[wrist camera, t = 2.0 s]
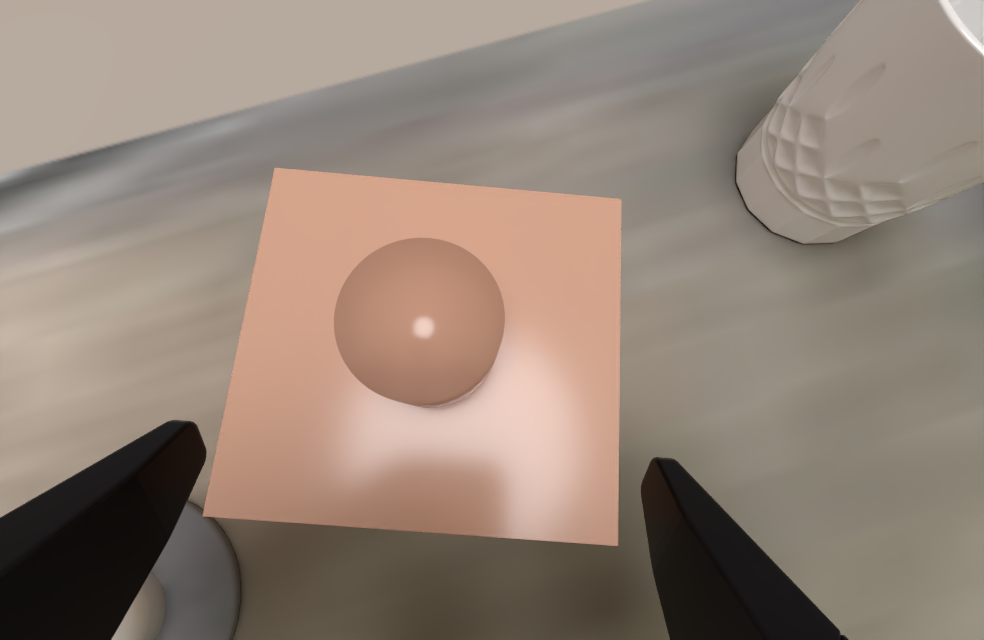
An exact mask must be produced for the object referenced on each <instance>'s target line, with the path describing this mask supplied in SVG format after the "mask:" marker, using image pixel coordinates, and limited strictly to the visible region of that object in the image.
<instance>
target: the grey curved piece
mask: <svg viewBox="0 0 984 640" xmlns="http://www.w3.org/2000/svg"><path fill="white" fill-rule="evenodd" d="M203 511H204V510H202V509H201V508H199V507H198V506H197V505H195V504H193V503H191V502H189V501H187V502H186V505H185V507H184V509H183V511H182V513H181V516H180V518H179V520H178V522H177V524H176V526H175V529H174V531H173V533H172V535H171V537H170V539H169V540H168V542H167V544H166V546H165V548H164V550H163V551H162V553H161V555H160V556H159V558H158V560H157V562H156V563H155V565H154V567H153V569H152V570H151V572H152V573H153V574H154V575H155V576H156V577H157V579H158V580H159V582H160V584H161V585H162V588H163V591H164V595H165V603H166V608H165V617H164V621H163V624H162V627H161V630H160V632H159V634H158V636H157V638H156V640H232V637H233V635H234V632H235V628H236V624H237V620H238V615H239V608H240V595H241V584H240V575H239V569H238V564H237V560H236V556H235V554H234V551H233V549H232V546H231V544H230V542H229V540H228V538H227V536H226V535H225V533H224V531H223V530H222V529H221V527H220V526H219V525H218V524H217V522H216V521H215V520H214V519H213V518H212V517H204V516H202V515H203Z"/></svg>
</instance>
